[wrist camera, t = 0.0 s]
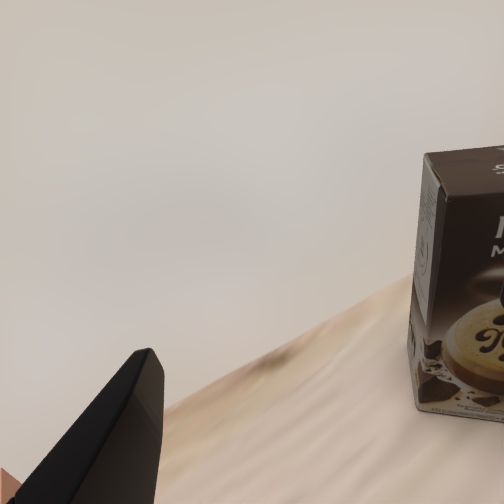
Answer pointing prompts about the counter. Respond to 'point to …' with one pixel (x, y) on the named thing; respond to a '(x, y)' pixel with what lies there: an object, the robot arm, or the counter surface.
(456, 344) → the coffee box
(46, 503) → the robot arm
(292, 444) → the counter surface
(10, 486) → the terracotta block
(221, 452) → the counter surface
